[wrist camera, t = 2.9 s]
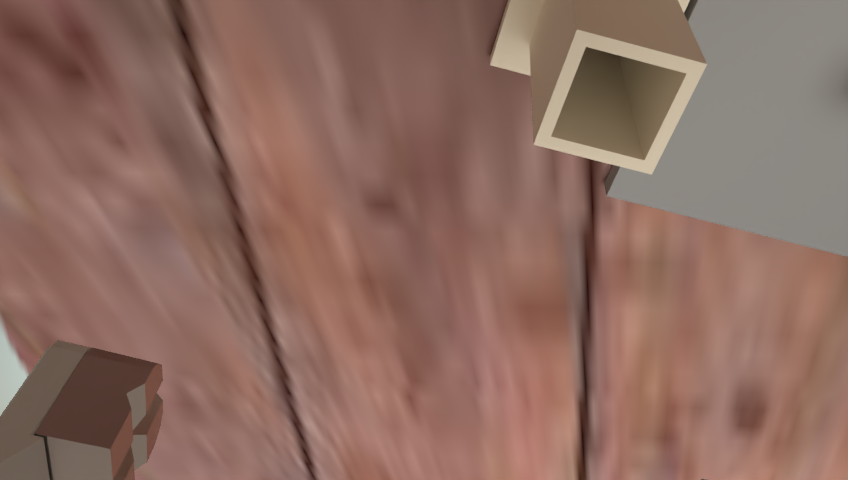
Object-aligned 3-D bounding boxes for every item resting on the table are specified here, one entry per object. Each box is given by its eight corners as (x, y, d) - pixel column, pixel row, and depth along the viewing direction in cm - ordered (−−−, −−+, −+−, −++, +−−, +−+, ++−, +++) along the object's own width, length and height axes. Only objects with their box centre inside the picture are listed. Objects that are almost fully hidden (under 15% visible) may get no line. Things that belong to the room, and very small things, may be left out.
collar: (490, 55, 38) (484, 167, 30) (540, -105, 33) (549, -24, 25) (638, 95, 38) (672, 214, 30) (708, -58, 34) (768, 35, 26)
